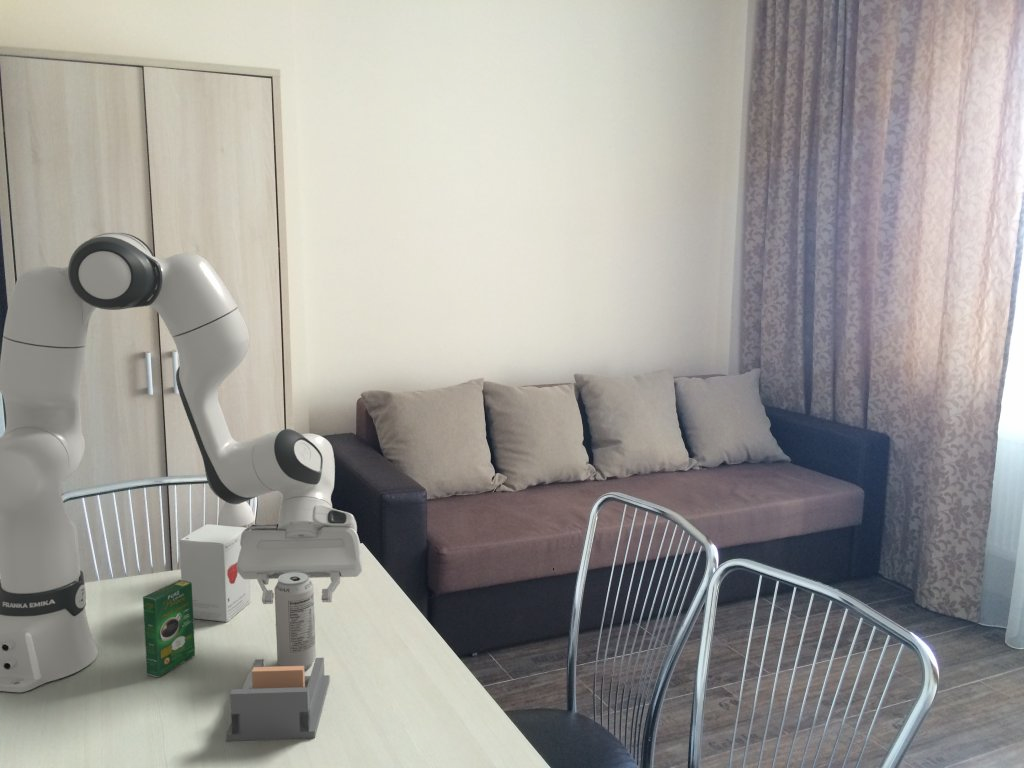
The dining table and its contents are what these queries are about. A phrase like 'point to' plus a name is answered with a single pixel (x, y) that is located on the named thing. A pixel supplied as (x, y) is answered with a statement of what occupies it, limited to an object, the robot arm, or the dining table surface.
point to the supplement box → (214, 572)
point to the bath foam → (236, 515)
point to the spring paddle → (278, 677)
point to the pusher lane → (278, 708)
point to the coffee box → (168, 627)
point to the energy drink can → (295, 620)
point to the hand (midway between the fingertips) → (296, 602)
